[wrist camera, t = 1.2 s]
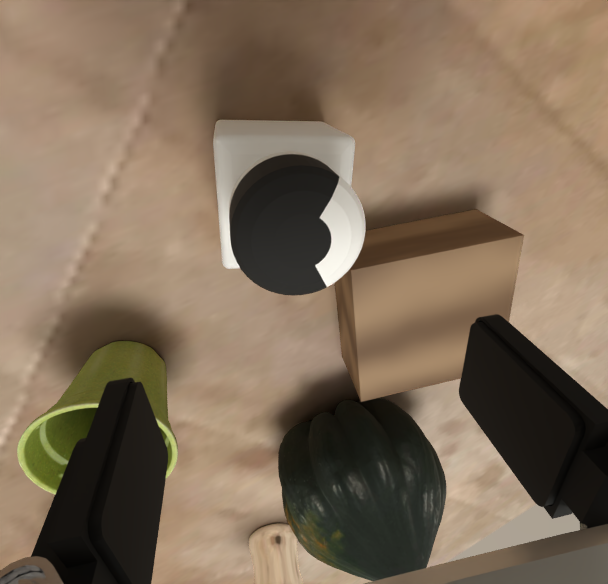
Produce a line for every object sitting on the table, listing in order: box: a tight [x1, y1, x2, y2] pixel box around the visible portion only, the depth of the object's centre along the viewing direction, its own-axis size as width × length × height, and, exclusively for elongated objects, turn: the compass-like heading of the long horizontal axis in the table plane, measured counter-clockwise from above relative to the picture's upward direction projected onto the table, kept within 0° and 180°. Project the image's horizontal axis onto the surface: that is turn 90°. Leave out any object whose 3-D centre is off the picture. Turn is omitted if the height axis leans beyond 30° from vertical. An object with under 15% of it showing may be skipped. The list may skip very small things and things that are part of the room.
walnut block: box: [335, 209, 524, 402], centre depth 31 cm, size 12×12×6 cm
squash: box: [278, 398, 446, 581], centre depth 36 cm, size 14×15×15 cm
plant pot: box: [17, 341, 178, 495], centre depth 29 cm, size 9×9×9 cm
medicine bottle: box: [213, 120, 366, 295], centre depth 21 cm, size 7×7×12 cm
